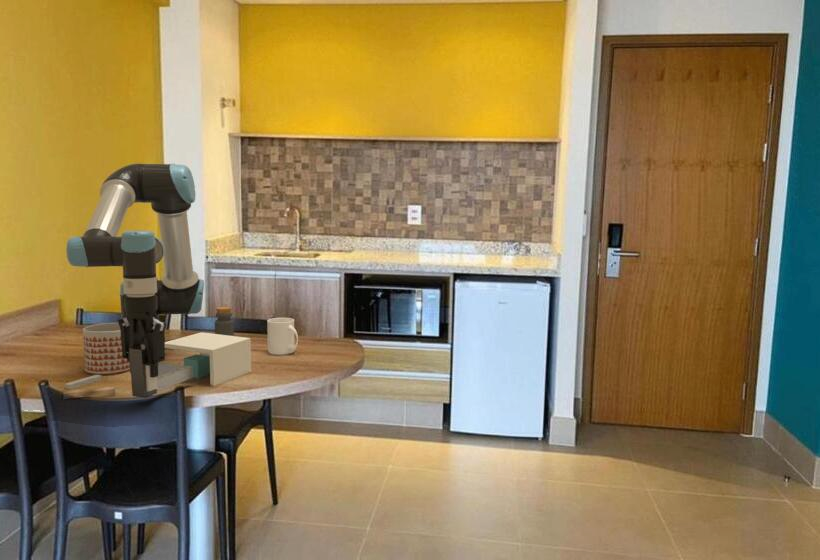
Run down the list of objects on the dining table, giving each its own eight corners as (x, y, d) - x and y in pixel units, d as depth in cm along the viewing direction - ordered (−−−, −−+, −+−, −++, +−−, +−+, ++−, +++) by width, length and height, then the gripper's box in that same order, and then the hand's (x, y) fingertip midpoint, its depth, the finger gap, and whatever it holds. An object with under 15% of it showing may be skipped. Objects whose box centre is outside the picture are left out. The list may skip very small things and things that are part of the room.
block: (184, 375, 186) (183, 358, 186) (196, 371, 191) (196, 354, 190) (198, 377, 184) (197, 360, 184) (210, 373, 189) (209, 356, 188)
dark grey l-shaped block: (132, 395, 162) (129, 348, 160) (185, 376, 178) (182, 332, 176) (144, 398, 160) (141, 350, 158) (196, 377, 176) (194, 333, 174)
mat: (133, 372, 190) (133, 371, 190) (162, 364, 200) (162, 362, 200) (193, 382, 181) (193, 381, 181) (220, 372, 191) (220, 371, 191)
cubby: (162, 378, 184) (161, 343, 183) (202, 365, 199) (201, 332, 197) (214, 387, 177) (212, 349, 176) (251, 372, 192) (250, 338, 190)
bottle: (238, 352, 215) (236, 307, 213) (226, 356, 210) (224, 309, 208) (223, 350, 218) (222, 305, 216) (211, 354, 213) (210, 308, 211)
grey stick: (65, 389, 175) (64, 383, 175) (96, 380, 184) (96, 374, 184) (70, 390, 174) (70, 384, 174) (101, 381, 183) (101, 375, 183)
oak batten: (62, 401, 165) (61, 393, 165) (64, 398, 168) (63, 390, 167) (114, 397, 169) (114, 389, 169) (115, 394, 171) (115, 386, 171)
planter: (103, 378, 184) (101, 333, 183) (75, 371, 192) (72, 328, 190) (146, 367, 196) (144, 325, 194) (117, 361, 203) (115, 320, 201)
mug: (288, 358, 208) (287, 325, 207) (262, 352, 215) (261, 320, 214) (307, 353, 215) (307, 320, 214) (281, 347, 222) (281, 316, 221)
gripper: (102, 294, 160) (107, 388, 163) (155, 299, 153) (159, 397, 156) (126, 290, 166) (131, 380, 169) (179, 295, 160) (182, 388, 162)
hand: (144, 388), depth 163 cm, fingers closed on dark grey l-shaped block, 4 cm apart
